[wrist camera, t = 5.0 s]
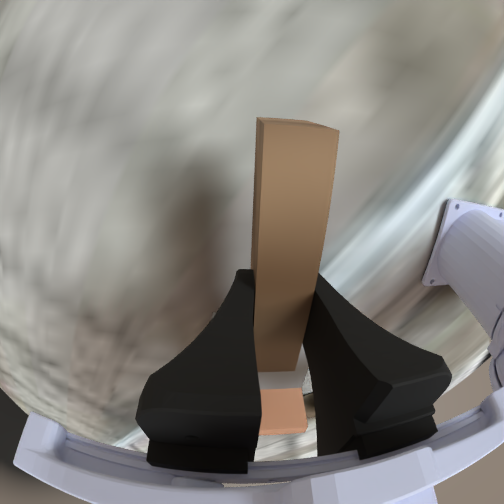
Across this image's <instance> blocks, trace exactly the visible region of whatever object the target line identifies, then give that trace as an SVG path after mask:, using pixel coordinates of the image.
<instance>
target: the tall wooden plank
mask: <svg viewBox="0 0 504 504" xmlns="http://www.w3.org/2000/svg"><path fill="white" fill-rule="evenodd" d="M338 139H339V130H336V129H332V128H329V127H326V126H323V125H319V124H316V123H313V122H309V121H304V120H293V119H279V118H261V117H257V123H256V148H255V173H254V198H253V223H252V248H251V269H253V272H254V279H255V292H254V311H253V331H254V342H255V353H256V362H257V370H258V378H259V386H260V389H287V388H302V385H303V382H304V379H305V376H306V374H307V370H308V367H309V366H308V363H307V359H306V355H305V351H304V348H303V344H302V342H303V338H304V334H305V330H306V326H307V322H308V318H309V313H310V309H311V304H312V300H313V295H314V291H315V286H316V281H317V276H318V271H319V266H320V261H321V256H322V250H323V245H324V239H325V233H326V227H327V221H328V215H329V209H330V202H331V195H332V188H333V181H334V174H335V166H336V157H337V149H338ZM216 313H217V312H213V313H212V318H213V317H214V316H215V314H216Z"/></svg>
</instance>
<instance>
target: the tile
mask: <svg viewBox="0 0 504 504" xmlns="http://www.w3.org/2000/svg"><path fill="white" fill-rule="evenodd" d="M260 392H261V404H262V419H261V425H260V431H259V435H277V434H291V433H302V432H305V431H306V429H307V427H308V424H307V418H306V412H305V406H304V400H303V395H302V389H301V388H287V389H260Z"/></svg>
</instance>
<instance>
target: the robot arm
mask: <svg viewBox="0 0 504 504" xmlns="http://www.w3.org/2000/svg"><path fill="white" fill-rule="evenodd" d="M456 204H457V205H456ZM455 206H456V207H455ZM422 284H423V285H424V286H437V285H450V287H451V288H452V289H453V290H454V291H455V293H456V294H457V295H458V296H459V297H460V299H461V300H462V301H463V302H464V304H465V305H466V306H467V307H468V309H469V310H470V311H471V312H472V314H473V315H474V316H475V318H476V319H477V320H478V322H479V323H480V324H481V326H482V327H483V328H484V330H485V331H486V333H487V334H488V335H489V337H490V338H491V340H492V341H491V343H490V345H489V346H488V348H487V349H488V351H489V352H490V354H491V355H492V357H493V358H492V360H491V362H490V366H489V375H490V380H491V386H492V389H493V393H491V394H490V395H489V396H487V397H486V398H485V399H484V401H482V403H481V404H480V405H479V406H477V407H475V408H473V409H471V410H469V411H467V412H465V413H463V414H461V415H459V416H456V417H454V418H452V419H450V420H447V421H445V422H443V423H440V424H438V425H436V424H435V422H434V419H433V417H432V415H433V414H434V413H435V409H434V406H433V403H434V402H435V401H436V400H437V399H438V398H439V397H440V396H441V395H442V394H443V392H444V391H445V390H446V389H447V387H448V386H449V384H450V382H451V379H452V374H451V372H450V370H449V368H448V367H447V365H446V363H445V361H444V359H443V358H442V356H439V355H437V354H434V353H431V352H429V351H426V350H423V349H421V348H419V347H416V346H414V345H412V344H410V343H408V342H406V341H404V340H402V339H400V338H398V337H396V336H395V335H393V334H391V333H390V332H388V331H386V330H385V329H383V328H382V327H380V326H378V325H377V324H376V323H374V322H373V321H371V320H370V319H369V318H367V317H366V316H365V315H363V314H362V313H361V312H360V311H358V310H357V309H356V308H355V307H354V306H352V305H351V304H350V303H349V302H348V301H347V300H346V299H345V298H344V297H343V296H341V295H340V294H339V293H338V292H337V291H336V290H335V289H334V288H333V287H332V286H331V285H330V284H329V283H328V282H327V281H326V280H325V279H324V278H323V277H322V276H321V275H320V274H319V273H318V276H317V281H316V286H315V291H314V295H313V300H312V304H311V309H310V313H309V318H308V322H307V326H306V330H305V334H304V338H303V342H302V344H303V348H304V351H305V355H306V359H307V363H308V366H309V371H310V375H311V382H312V389H313V397H314V406H315V417H316V430H317V457H311V458H303V459H294V460H282V461H264V462H254V456H255V450H256V448H257V443H258V437H259V431H260V425H261V419H262V404H261V392H260V386H259V378H258V370H257V362H256V353H255V342H254V331H253V311H254V292H255V279H254V272H253V269H239V270H238V271H236V276H235V279H234V282H233V284H232V286H231V289H230V291H229V292H228V294H227V296H226V298H225V300H224V302H223V303H222V305H221V306H220V308H219V310H218V311H217V313H216V314H215V316H214V317H213V318H212V320H211V321H210V322H209V324H208V325H207V326H206V327H205V329H204V330H203V331H202V332H201V333H200V334H199V335H198V336H197V337H196V339H195V340H194V341H193V342H192V343H191V344H190V345H189V346H188V347H186V348H185V349H184V350H183V351H182V352H181V353H180V354H178V355H177V356H176V357H175V358H174V359H173V360H171V361H170V362H169V363H167V364H166V365H165V366H163V367H162V368H160V369H159V370H157V371H156V372H155V373H153V374H152V375H150V376H149V378H148V380H147V382H146V384H145V386H144V389H143V391H142V394H141V396H140V399H139V404H138V409H137V413H136V418H135V419H136V421H137V423H138V425H139V426H140V427H141V429H142V430H143V431H144V433H145V434H146V435H147V437H148V438H149V439H150V440H149V446H148V452H147V453H143V452H138V451H133V450H128V449H124V448H120V447H116V446H112V445H108V444H104V443H101V442H97V441H94V440H90V439H87V438H84V437H81V436H78V435H75V434H72V433H69V432H67V430H66V429H65V428H64V427H63V426H62V425H60V424H59V423H57V422H56V421H54V420H52V419H50V418H47V417H45V416H42V415H40V414H38V413H35V412H33V411H32V412H30V414H29V417H28V420H27V422H26V425H25V428H24V430H23V433H22V436H21V439H20V442H19V445H18V448H17V451H16V454H15V458H14V461H13V463H14V465H15V466H17V467H19V468H20V469H22V470H24V471H25V472H27V473H29V474H30V475H32V476H34V477H36V478H37V479H39V480H41V481H43V482H45V483H47V484H49V485H51V486H53V487H55V488H57V489H59V490H62V491H64V492H66V493H68V494H70V495H73V496H75V497H77V498H80V499H83V500H85V501H88V502H90V503H93V504H438V503H437V499H436V495H435V491H434V488H433V486H434V485H436V484H438V483H440V482H442V481H443V480H446V479H447V478H449V477H451V476H453V475H455V474H456V473H458V472H460V471H461V470H463V469H465V468H467V467H468V466H470V465H471V464H473V463H475V462H476V461H477V460H479V459H481V458H482V457H484V456H485V455H487V454H488V453H489V452H491V451H492V450H494V449H495V448H496V447H498V446H499V445H500V444H502V443H503V442H504V209H500V208H496V207H492V206H487V205H482V204H478V203H473V202H468V201H463V200H457V199H449V200H448V202H447V205H446V209H445V212H444V216H443V220H442V223H441V227H440V230H439V233H438V237H437V240H436V243H435V246H434V249H433V252H432V255H431V258H430V260H429V263H428V266H427V269H426V271H425V274H424V277H423V279H422ZM287 481H291V482H288V483H280V484H272V485H262V486H248V487H224V485H223V484H222V483H236V484H248V483H274V482H287Z"/></svg>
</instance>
